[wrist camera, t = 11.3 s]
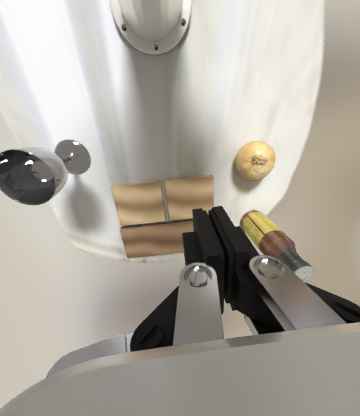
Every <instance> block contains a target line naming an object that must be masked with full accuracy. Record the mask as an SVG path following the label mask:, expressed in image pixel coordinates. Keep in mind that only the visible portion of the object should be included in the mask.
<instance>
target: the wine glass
mask: <svg viewBox="0 0 360 416" xmlns="http://www.w3.org/2000/svg"><path fill="white" fill-rule="evenodd" d="M90 163H91V159H90V155H89V152H88V151H87V149H86V148H85V147H84V146H83V145H82V144H80V143H79V142H77V141H74V140H63V141H61V142H60V143H58V144H57V146H56V148H55V153H54V152H52V151H50V150H47V149H44V148H38V147H22V148H15V149H11V150H7V151H4V152H2V153H0V190H1V191H2V192H3V193H4V194H6V195H7V196H8V197H10V198H11V199H13V200H15V201H17V202H20V203H22V204H26V205H40V204H43V203H45V202H47V201H49V200H50V199H52V198H53V197H54V196H56V195H57V194H58V193H59V192H60V191H61V190H62V188H63V187H64V185H65V184H66V182H67V179H68V172H69V173H72V174H81V173H84V172H85V171H87V170H88V168H89V166H90Z"/></svg>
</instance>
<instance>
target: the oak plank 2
mask: <svg viewBox="0 0 360 416" xmlns="http://www.w3.org/2000/svg"><path fill="white" fill-rule="evenodd" d="M165 188H166V196H167V204H168V212H169V220H170V221H171V220H180V219H189V218H193V214H192V209H199V208H202V209H203V210H206V211H207V214H208V210H211V209H212V207H214V201H213V176H212V175H210V176H201V177H191V178H181V179H172V180H165Z"/></svg>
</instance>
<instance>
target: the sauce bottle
mask: <svg viewBox="0 0 360 416" xmlns="http://www.w3.org/2000/svg"><path fill="white" fill-rule="evenodd" d="M241 225H242V227H243V229H244V230H245V232H246V233H247V234H248V236H249V237H250V238H251V239H252V241H253V242H254V243H255V245H256V246H257V247H258V249H259V250H260V251H261V252H262V253H263V254H264V255H267V256H272V257H275V258H277V259H279V260H281V261H282V262H283V263H285V264H286V265H287V266H288V267H289V268H290V269H291V270H292V271H293V272H294V273H295V274H296V275H297V276H298V277H299V278H300V279H301V280H302V281H303V282H308V281H309V280H310V279H311V278H312V277H313V275H314V268H313V267H312V266H311V265H310V264H309V263H307V262H305V261H304V260H303V259H302V258H301V257H300V256H299V255H298V254H297V253H296V249H295V244H294V242H293V241H292V240H291V239H290V238H289V237H288V236H286V234H285V233H284V232H283V231H282V230H280V229H279V228H278V227H277V226H276V225H275V224H274V223H273V222H272V221H270V220H269V219H268V218H267V217H266V216H265V215H264V214H262V213H260V212H258V211H255V210H252V211H250V212H247V213H246V214H244V216H243V217H242V219H241Z"/></svg>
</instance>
